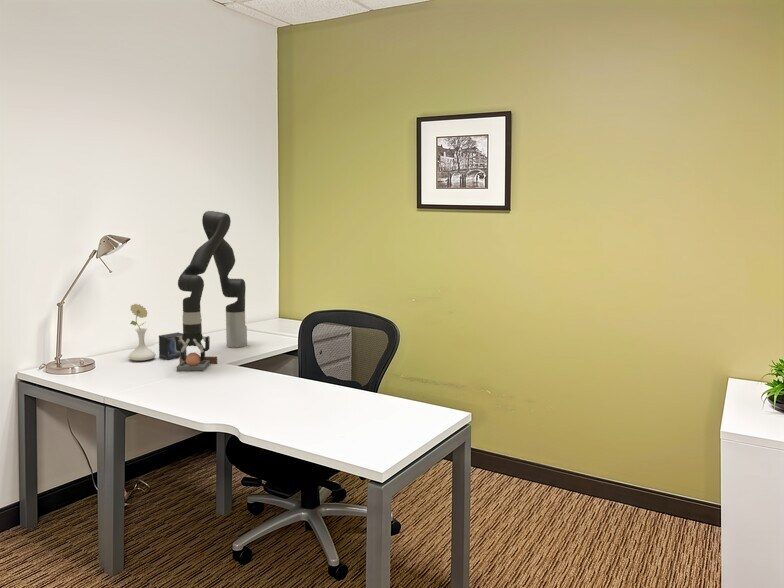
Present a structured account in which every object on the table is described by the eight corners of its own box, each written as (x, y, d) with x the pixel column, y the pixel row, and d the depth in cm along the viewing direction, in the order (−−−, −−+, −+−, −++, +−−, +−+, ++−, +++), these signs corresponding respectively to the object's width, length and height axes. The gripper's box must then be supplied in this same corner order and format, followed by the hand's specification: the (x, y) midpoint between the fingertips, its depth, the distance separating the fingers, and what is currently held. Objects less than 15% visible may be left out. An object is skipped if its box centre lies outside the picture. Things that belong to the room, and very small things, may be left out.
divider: (180, 363, 280) (180, 356, 279) (217, 363, 280) (217, 356, 280) (179, 363, 279) (179, 357, 278) (216, 363, 279) (216, 357, 279)
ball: (193, 364, 275) (192, 350, 275) (203, 366, 273) (203, 352, 272) (182, 367, 270) (182, 353, 269) (193, 369, 267) (192, 355, 266)
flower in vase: (161, 359, 287) (159, 303, 283) (138, 363, 278) (135, 306, 274) (144, 354, 294) (142, 301, 291) (121, 359, 285) (118, 304, 282)
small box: (167, 360, 284) (166, 337, 283) (158, 358, 288) (157, 335, 287) (187, 356, 293) (186, 333, 291) (178, 354, 297) (178, 331, 295)
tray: (184, 364, 277) (183, 360, 276) (209, 364, 277) (209, 360, 277) (176, 371, 266) (176, 366, 266) (203, 371, 266) (203, 366, 266)
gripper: (172, 323, 265) (173, 362, 267) (207, 323, 265) (208, 362, 268) (177, 320, 272) (178, 358, 274) (211, 320, 273) (212, 358, 275)
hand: (193, 360), depth 271 cm, fingers open, 7 cm apart
